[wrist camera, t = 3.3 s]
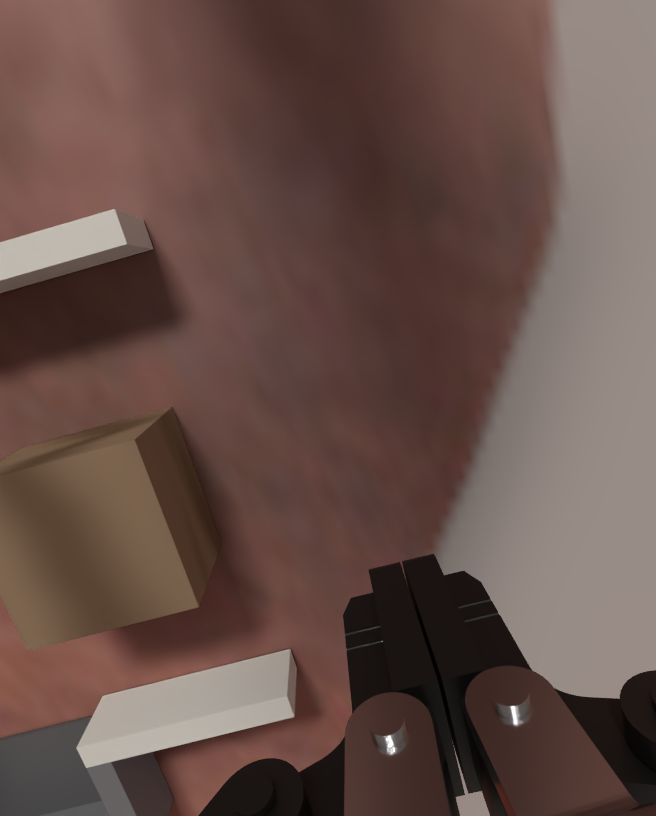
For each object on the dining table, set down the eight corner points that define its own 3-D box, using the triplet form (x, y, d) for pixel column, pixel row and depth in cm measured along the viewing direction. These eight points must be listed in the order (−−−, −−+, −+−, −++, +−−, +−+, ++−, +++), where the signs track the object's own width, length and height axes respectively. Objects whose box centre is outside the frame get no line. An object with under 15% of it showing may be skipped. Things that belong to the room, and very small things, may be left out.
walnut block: (173, 405, 23) (134, 439, 18) (222, 542, 24) (198, 607, 19) (26, 446, 23) (-52, 490, 18) (84, 577, 25) (27, 650, 20)
